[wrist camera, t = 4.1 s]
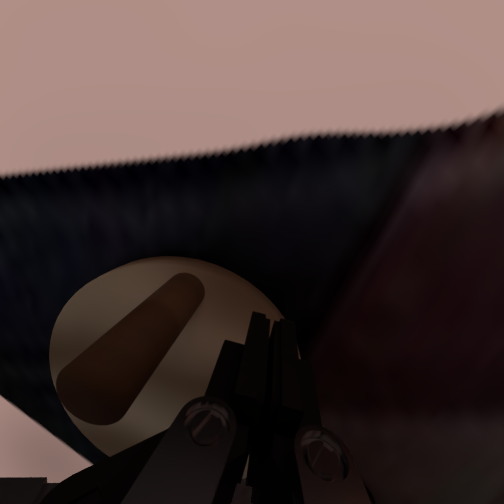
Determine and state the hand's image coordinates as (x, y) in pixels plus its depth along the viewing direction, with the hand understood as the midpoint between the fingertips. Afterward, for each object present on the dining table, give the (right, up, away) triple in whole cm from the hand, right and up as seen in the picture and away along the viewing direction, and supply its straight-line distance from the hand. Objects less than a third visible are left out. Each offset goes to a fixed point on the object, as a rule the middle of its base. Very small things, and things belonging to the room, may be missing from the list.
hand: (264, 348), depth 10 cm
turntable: (-5, -3, +5) cm, 8 cm away
